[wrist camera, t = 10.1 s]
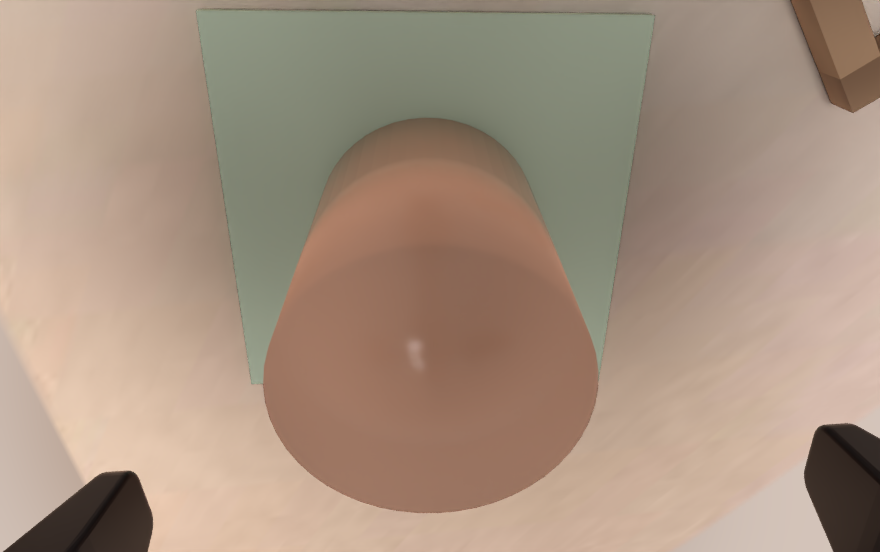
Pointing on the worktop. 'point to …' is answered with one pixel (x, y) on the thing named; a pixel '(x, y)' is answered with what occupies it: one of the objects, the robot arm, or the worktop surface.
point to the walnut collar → (842, 50)
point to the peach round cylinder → (429, 328)
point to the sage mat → (421, 96)
